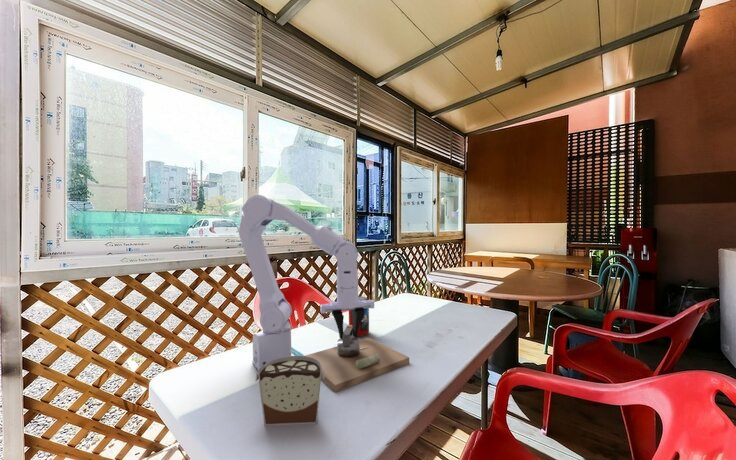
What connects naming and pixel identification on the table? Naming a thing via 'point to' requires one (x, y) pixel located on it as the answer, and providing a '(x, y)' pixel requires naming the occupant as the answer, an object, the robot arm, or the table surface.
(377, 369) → the base
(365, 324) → the beverage can
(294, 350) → the adjustable wrench
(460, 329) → the table surface
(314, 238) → the robot arm
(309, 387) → the food container
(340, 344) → the wing knob
